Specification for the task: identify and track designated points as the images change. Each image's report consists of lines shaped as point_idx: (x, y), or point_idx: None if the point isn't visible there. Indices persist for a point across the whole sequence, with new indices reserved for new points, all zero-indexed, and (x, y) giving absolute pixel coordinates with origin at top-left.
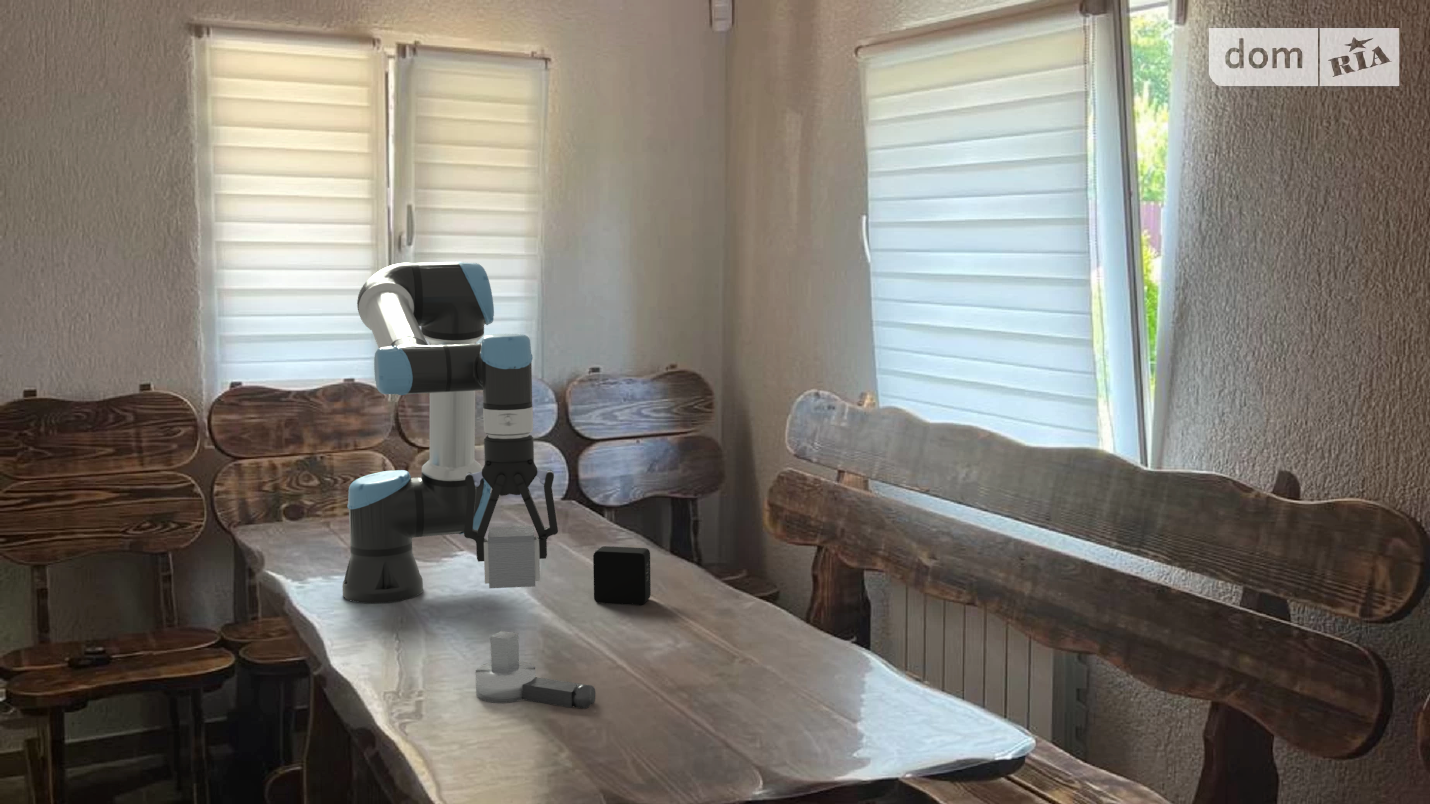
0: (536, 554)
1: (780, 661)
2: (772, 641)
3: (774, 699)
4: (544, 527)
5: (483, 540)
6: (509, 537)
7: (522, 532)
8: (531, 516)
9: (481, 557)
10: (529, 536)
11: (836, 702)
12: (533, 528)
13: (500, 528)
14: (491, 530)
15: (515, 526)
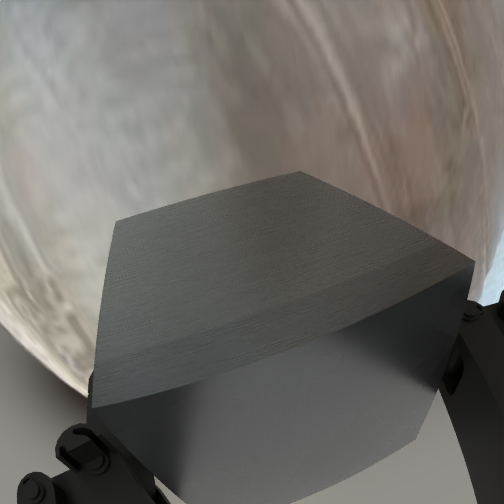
0: None
1: (489, 126)
2: (487, 58)
3: (467, 237)
4: (494, 326)
5: (150, 475)
6: (313, 489)
7: (382, 431)
8: (473, 468)
9: None
10: (396, 448)
11: (492, 237)
12: (454, 336)
13: (226, 419)
14: (173, 470)
15: (359, 326)
